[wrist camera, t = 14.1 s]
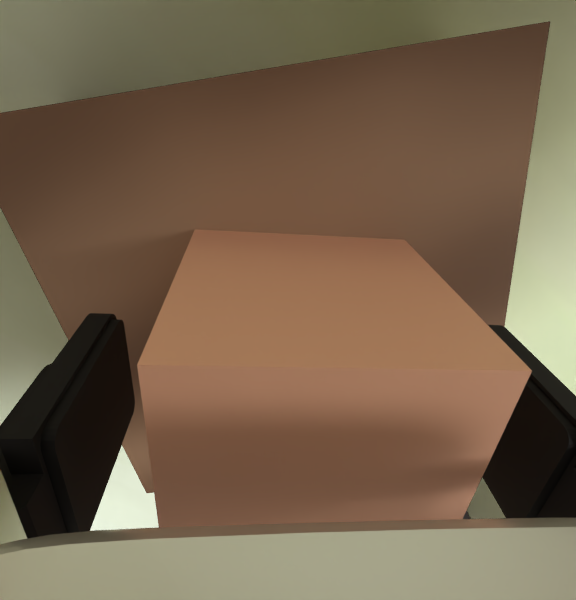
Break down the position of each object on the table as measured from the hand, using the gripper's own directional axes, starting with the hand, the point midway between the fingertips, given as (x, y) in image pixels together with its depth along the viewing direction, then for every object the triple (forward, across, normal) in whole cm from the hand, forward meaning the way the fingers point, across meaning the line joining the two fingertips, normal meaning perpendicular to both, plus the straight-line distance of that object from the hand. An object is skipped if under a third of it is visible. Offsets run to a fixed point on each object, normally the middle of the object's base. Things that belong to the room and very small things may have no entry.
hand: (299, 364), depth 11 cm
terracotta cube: (+2, 0, 0) cm, 2 cm away
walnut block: (+8, 0, 0) cm, 8 cm away
